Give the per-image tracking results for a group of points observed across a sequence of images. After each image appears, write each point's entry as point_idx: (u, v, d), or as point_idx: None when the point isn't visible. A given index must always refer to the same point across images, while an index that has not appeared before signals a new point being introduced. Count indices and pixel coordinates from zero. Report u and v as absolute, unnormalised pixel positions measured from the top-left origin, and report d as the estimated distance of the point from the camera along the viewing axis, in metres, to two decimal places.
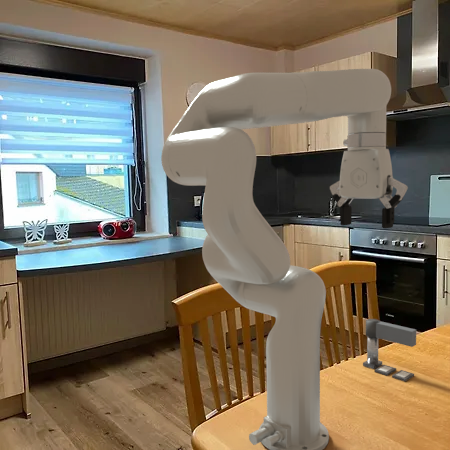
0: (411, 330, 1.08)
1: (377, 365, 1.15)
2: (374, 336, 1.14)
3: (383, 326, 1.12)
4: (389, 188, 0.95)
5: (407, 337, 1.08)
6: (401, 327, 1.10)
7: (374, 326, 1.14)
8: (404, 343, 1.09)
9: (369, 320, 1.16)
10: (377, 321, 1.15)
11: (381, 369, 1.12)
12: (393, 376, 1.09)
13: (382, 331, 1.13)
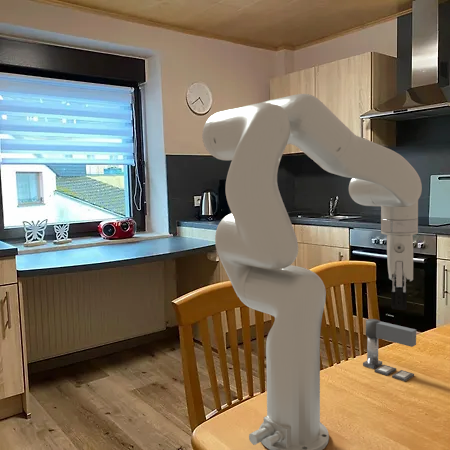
0: (411, 330, 1.08)
1: (377, 365, 1.15)
2: (374, 336, 1.14)
3: (383, 326, 1.12)
4: None
5: (407, 337, 1.08)
6: (401, 327, 1.10)
7: (374, 326, 1.14)
8: (404, 343, 1.09)
9: (369, 320, 1.16)
10: (377, 321, 1.15)
11: (381, 369, 1.12)
12: (393, 376, 1.09)
13: (382, 331, 1.13)
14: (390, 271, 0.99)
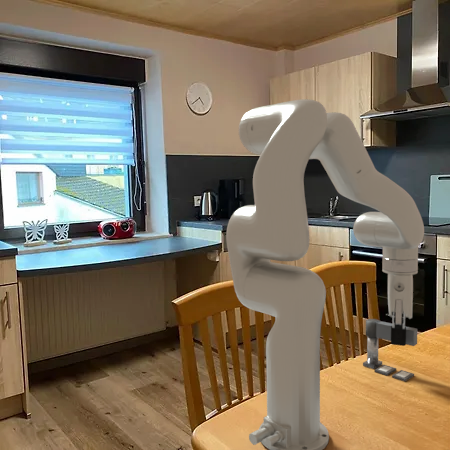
0: (412, 329, 1.08)
1: (377, 365, 1.15)
2: (374, 336, 1.14)
3: (384, 326, 1.12)
4: None
5: (409, 336, 1.08)
6: None
7: (374, 326, 1.14)
8: None
9: (369, 320, 1.16)
10: (377, 321, 1.15)
11: (381, 369, 1.12)
12: (393, 376, 1.09)
13: (383, 331, 1.13)
14: (390, 309, 1.03)
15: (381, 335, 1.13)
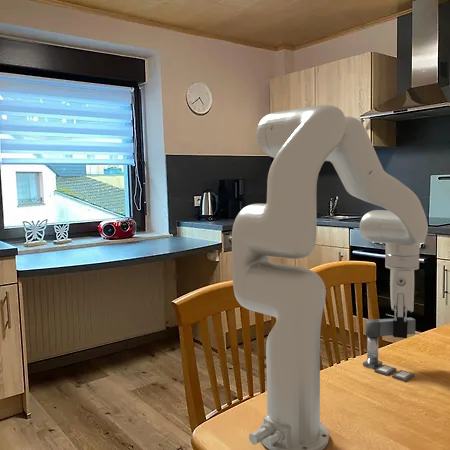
0: (412, 319, 1.16)
1: (377, 365, 1.15)
2: (379, 335, 1.15)
3: (387, 323, 1.15)
4: None
5: (411, 326, 1.16)
6: None
7: (379, 325, 1.14)
8: (408, 333, 1.16)
9: (370, 321, 1.15)
10: (376, 320, 1.16)
11: (381, 369, 1.12)
12: (393, 376, 1.09)
13: (387, 328, 1.15)
14: (392, 302, 1.08)
15: (385, 332, 1.15)
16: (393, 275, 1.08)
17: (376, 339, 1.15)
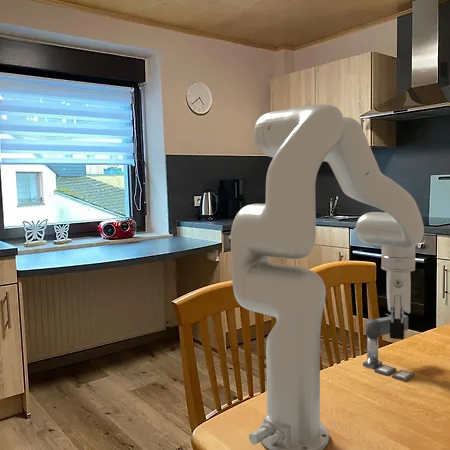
0: (404, 315, 1.19)
1: (377, 365, 1.15)
2: (380, 334, 1.15)
3: (386, 321, 1.16)
4: None
5: (404, 323, 1.18)
6: None
7: (380, 325, 1.15)
8: None
9: (370, 321, 1.15)
10: (374, 320, 1.16)
11: (381, 369, 1.12)
12: (393, 376, 1.09)
13: (385, 327, 1.16)
14: (389, 304, 1.08)
15: (384, 331, 1.16)
16: (390, 277, 1.08)
17: (376, 339, 1.15)
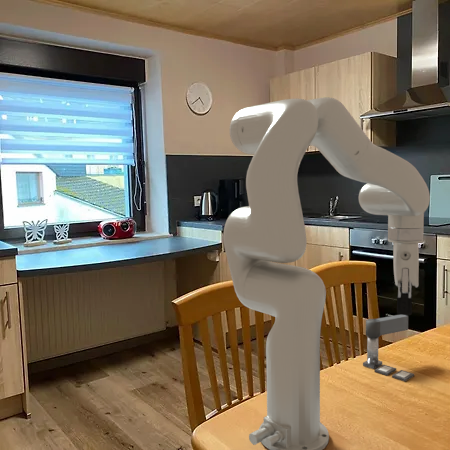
0: (404, 315, 1.19)
1: (377, 365, 1.15)
2: (380, 334, 1.15)
3: (386, 321, 1.16)
4: None
5: (404, 323, 1.18)
6: (395, 316, 1.18)
7: (380, 325, 1.15)
8: (402, 329, 1.18)
9: (370, 321, 1.15)
10: (374, 320, 1.16)
11: (381, 369, 1.12)
12: (393, 376, 1.09)
13: (385, 327, 1.16)
14: (396, 277, 1.03)
15: (384, 331, 1.16)
16: (397, 249, 1.03)
17: (376, 339, 1.15)
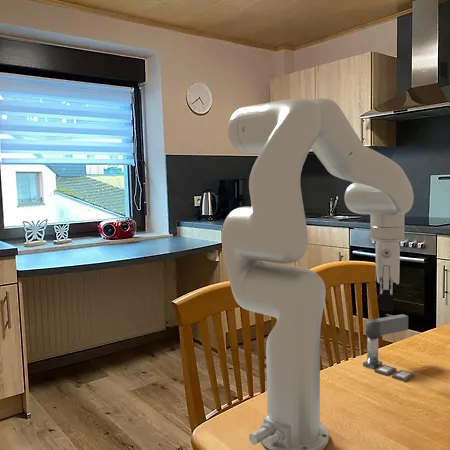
0: (404, 315, 1.19)
1: (377, 365, 1.15)
2: (380, 334, 1.15)
3: (386, 321, 1.16)
4: None
5: (404, 323, 1.18)
6: (395, 316, 1.18)
7: (380, 325, 1.15)
8: (402, 329, 1.18)
9: (370, 321, 1.15)
10: (374, 320, 1.16)
11: (381, 369, 1.12)
12: (393, 376, 1.09)
13: (385, 327, 1.16)
14: (378, 275, 1.07)
15: (384, 331, 1.16)
16: (378, 247, 1.06)
17: (376, 339, 1.15)
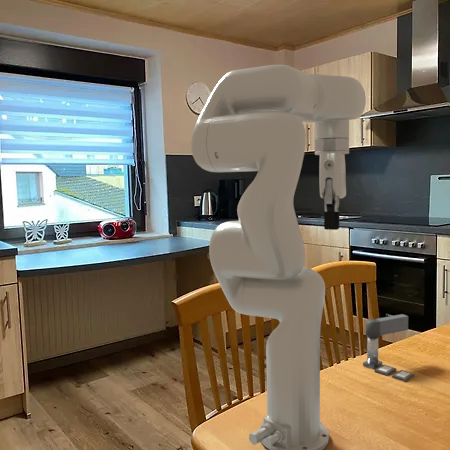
0: (404, 315, 1.19)
1: (377, 365, 1.15)
2: (380, 334, 1.15)
3: (386, 321, 1.16)
4: None
5: (404, 323, 1.18)
6: (395, 316, 1.18)
7: (380, 325, 1.15)
8: (402, 329, 1.18)
9: (370, 321, 1.15)
10: (374, 320, 1.16)
11: (381, 369, 1.12)
12: (393, 376, 1.09)
13: (385, 327, 1.16)
14: (320, 188, 1.02)
15: (384, 331, 1.16)
16: (321, 159, 1.02)
17: (376, 339, 1.15)
